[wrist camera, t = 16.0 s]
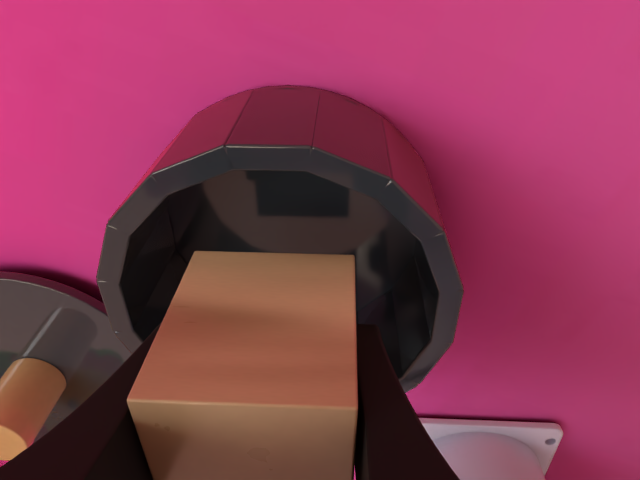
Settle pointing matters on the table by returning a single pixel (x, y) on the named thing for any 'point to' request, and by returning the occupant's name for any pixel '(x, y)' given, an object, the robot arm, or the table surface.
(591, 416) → the table surface
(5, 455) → the lid
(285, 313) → the block
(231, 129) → the dark grey hollow cylinder
